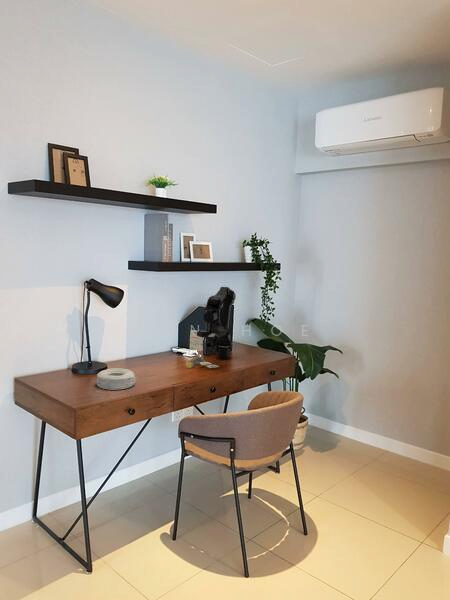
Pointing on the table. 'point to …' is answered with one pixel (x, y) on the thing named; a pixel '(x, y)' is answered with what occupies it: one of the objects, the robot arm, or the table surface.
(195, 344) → the ink cartridge box
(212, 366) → the label tile
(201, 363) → the label tile
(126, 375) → the grey stone ring
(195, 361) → the swing arm
